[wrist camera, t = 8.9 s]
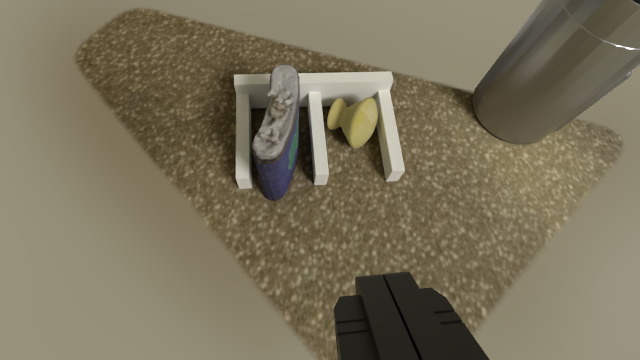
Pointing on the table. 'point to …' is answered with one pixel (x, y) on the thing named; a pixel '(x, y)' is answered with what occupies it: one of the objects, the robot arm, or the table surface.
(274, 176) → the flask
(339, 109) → the knob
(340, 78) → the rack
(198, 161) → the table surface
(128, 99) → the table surface
